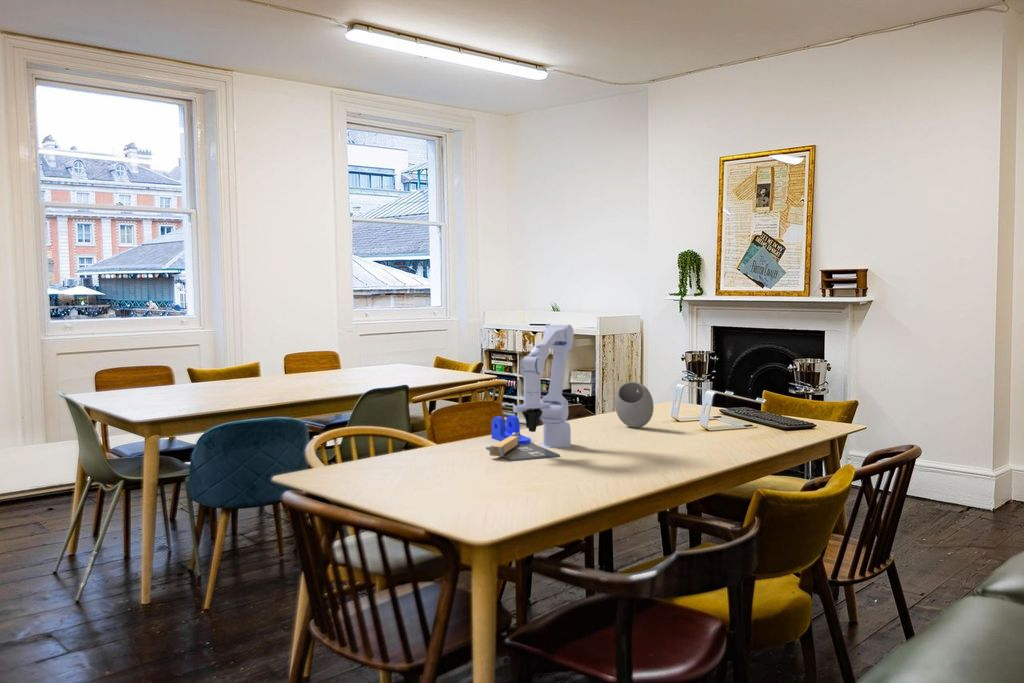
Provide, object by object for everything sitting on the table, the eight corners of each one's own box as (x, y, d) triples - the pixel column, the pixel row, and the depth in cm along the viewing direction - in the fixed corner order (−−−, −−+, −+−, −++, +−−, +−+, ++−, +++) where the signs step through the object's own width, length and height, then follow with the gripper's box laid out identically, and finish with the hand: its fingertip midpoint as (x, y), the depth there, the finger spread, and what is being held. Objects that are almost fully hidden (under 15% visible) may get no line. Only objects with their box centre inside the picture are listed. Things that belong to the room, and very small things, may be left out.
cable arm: (508, 444, 293) (507, 435, 293) (519, 445, 292) (519, 436, 291) (489, 455, 274) (489, 446, 274) (502, 456, 273) (502, 447, 272)
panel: (531, 445, 298) (531, 430, 298) (559, 457, 278) (559, 441, 277) (485, 449, 291) (485, 434, 291) (510, 462, 271) (510, 445, 270)
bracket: (491, 439, 312) (491, 415, 311) (510, 437, 316) (510, 413, 316) (515, 447, 296) (515, 422, 296) (534, 445, 300) (534, 420, 300)
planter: (610, 426, 339) (610, 380, 338) (620, 423, 345) (620, 379, 343) (647, 431, 327) (648, 384, 325) (657, 429, 332) (658, 382, 330)
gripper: (542, 388, 287) (542, 427, 288) (507, 392, 279) (508, 431, 280) (554, 390, 281) (554, 430, 282) (519, 394, 273) (519, 435, 274)
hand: (532, 431), depth 281 cm, fingers closed
